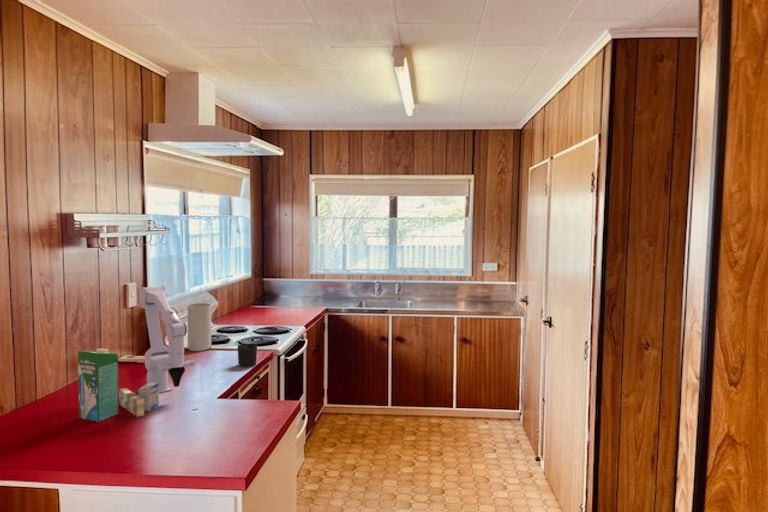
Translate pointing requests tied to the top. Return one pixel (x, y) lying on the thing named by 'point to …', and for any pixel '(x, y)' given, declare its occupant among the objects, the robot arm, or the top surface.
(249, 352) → the pen holder
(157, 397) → the medicine box
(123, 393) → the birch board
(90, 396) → the milk carton
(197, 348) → the cylinder vase
